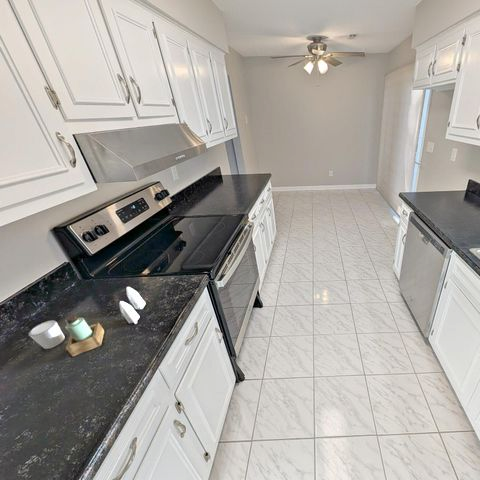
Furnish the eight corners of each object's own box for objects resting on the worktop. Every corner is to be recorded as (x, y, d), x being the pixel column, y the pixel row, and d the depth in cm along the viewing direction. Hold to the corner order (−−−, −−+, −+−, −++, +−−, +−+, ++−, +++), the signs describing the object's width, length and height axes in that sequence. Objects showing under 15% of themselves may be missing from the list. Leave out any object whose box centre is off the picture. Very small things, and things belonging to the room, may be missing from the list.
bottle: (78, 349, 83) (59, 324, 78) (81, 340, 87) (62, 315, 81) (95, 343, 85) (77, 318, 80) (98, 334, 89) (80, 309, 83)
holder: (72, 356, 82) (65, 348, 80) (77, 340, 88) (71, 332, 86) (101, 345, 85) (95, 337, 83) (104, 330, 91) (98, 322, 89)
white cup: (36, 347, 86) (23, 333, 83) (60, 332, 92) (49, 318, 88) (47, 353, 84) (34, 338, 80) (71, 336, 89) (60, 322, 86)
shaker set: (138, 303, 102) (126, 282, 97) (149, 301, 103) (137, 280, 98) (124, 326, 92) (110, 303, 87) (137, 323, 93) (123, 300, 87)
